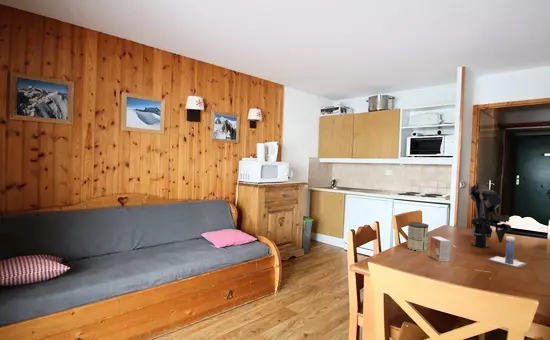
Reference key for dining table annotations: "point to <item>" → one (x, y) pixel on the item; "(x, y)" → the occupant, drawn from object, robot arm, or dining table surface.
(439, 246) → the small box
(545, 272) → the dining table surface
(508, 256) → the marker
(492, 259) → the clipboard
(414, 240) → the coffee can
